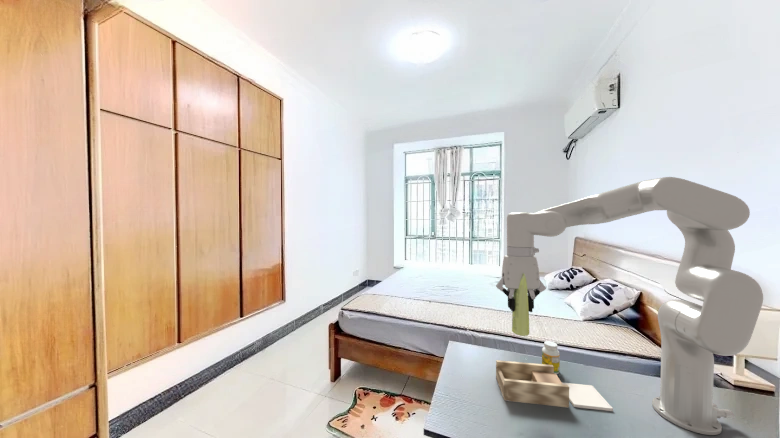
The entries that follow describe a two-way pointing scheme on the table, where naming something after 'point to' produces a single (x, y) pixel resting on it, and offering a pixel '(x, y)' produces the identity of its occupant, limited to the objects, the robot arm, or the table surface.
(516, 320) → the tube
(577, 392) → the tile
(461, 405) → the table surface
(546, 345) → the supplement bottle
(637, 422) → the table surface
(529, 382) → the tray
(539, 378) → the offcut top
